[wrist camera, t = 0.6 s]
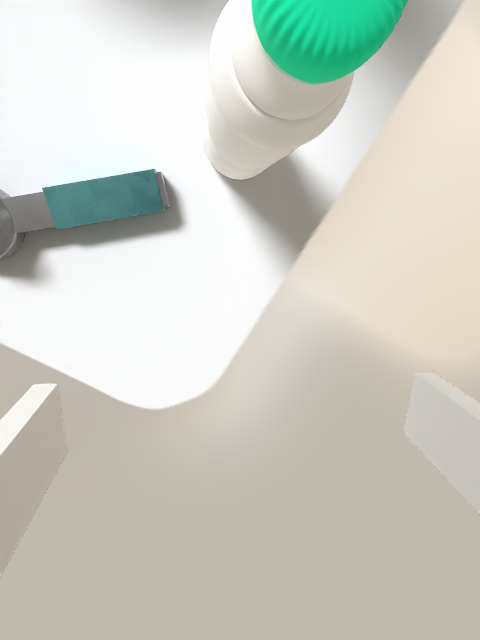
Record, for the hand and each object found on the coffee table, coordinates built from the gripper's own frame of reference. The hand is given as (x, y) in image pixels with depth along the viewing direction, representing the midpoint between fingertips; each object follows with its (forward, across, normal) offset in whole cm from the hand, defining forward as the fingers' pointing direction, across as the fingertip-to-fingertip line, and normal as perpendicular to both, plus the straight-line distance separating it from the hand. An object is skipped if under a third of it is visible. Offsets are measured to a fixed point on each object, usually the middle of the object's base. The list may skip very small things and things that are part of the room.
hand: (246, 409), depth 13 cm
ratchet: (+26, -15, +7) cm, 30 cm away
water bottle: (+26, +2, +14) cm, 29 cm away
